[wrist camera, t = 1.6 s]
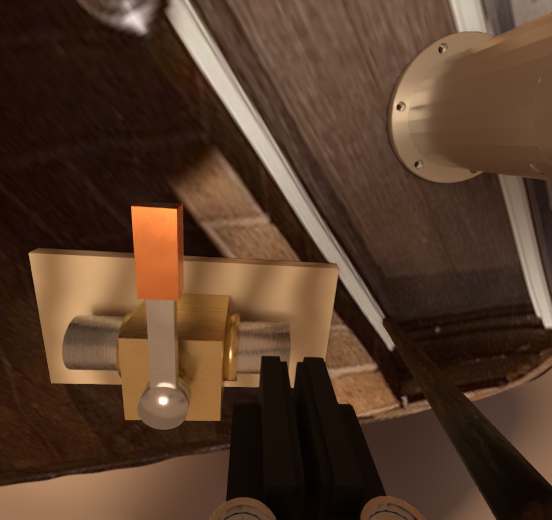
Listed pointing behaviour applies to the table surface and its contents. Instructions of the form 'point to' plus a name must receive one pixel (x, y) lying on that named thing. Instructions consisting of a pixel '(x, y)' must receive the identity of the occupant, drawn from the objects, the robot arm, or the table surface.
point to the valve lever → (161, 309)
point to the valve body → (191, 350)
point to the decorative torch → (478, 441)
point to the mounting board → (197, 280)
